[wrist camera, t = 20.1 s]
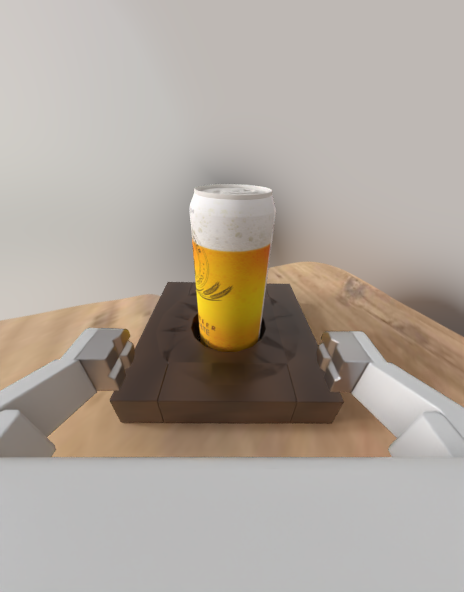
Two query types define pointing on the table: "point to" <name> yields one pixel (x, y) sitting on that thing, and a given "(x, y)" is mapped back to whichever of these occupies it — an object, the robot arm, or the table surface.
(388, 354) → the table surface
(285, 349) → the holder
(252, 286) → the beer can
